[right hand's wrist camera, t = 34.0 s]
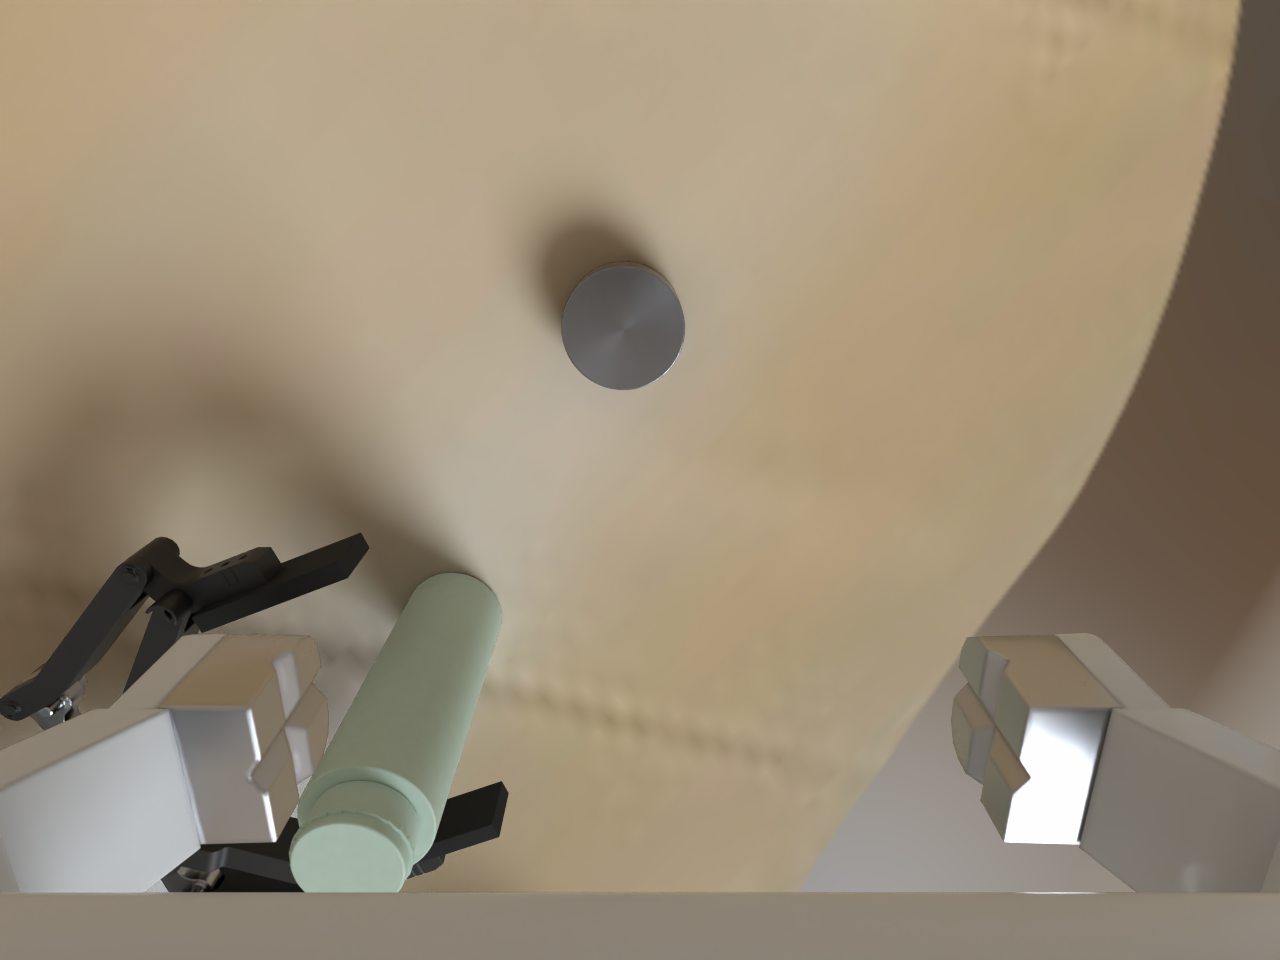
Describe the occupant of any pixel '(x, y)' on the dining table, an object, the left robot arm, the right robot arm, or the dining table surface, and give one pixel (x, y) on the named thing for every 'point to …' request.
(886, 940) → the right robot arm
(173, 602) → the left robot arm
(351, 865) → the bottle
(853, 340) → the dining table surface
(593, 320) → the lid
